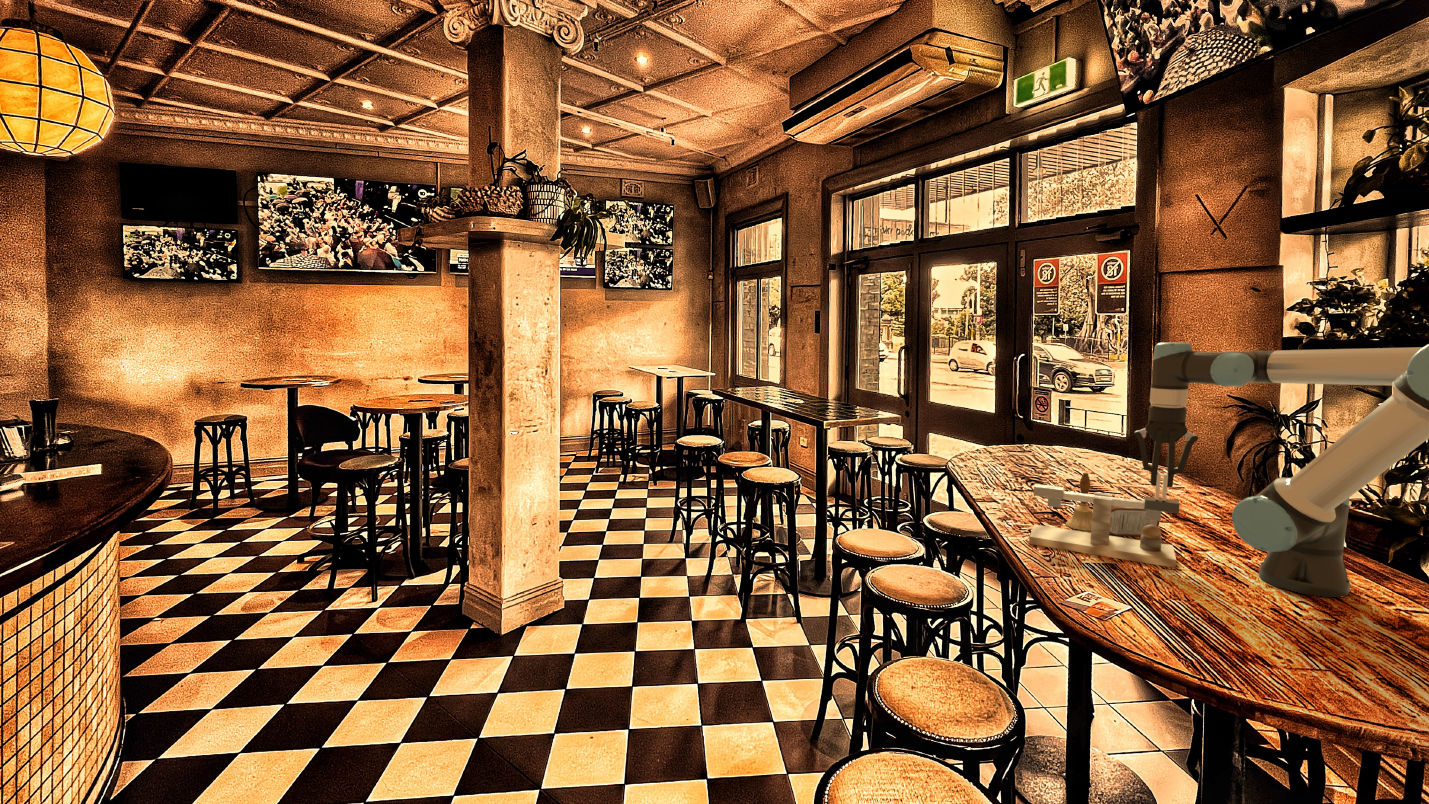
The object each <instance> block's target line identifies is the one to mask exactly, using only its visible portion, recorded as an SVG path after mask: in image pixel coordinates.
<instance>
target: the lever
mask: <svg viewBox="0 0 1429 804" xmlns="http://www.w3.org/2000/svg"><path fill="white" fill-rule="evenodd" d="M1033 496H1037V497H1042V498H1047V506H1048V507H1052V508H1061V507H1062V506H1061V505H1062V500H1066V501H1073V502H1080V501H1081V502H1087V503H1089V504H1093V500H1094V497H1101V498H1109V499H1112V505H1113V506H1121V507H1129V508H1137V509H1145V510H1146V519H1150V520H1158V521H1160V522H1161V518H1162V512H1163V513H1171V514H1179V513H1180V500H1179V499H1168V498H1166V501H1162V497H1161V498H1160V497H1159V500H1155V497H1152V496H1151V497H1150V496H1144V500H1139V499H1130V498H1122V497H1113V496H1112V497H1107V496H1099V495H1094V494H1089V493H1088V494H1082V493H1081V492H1071V491H1066V490H1065V486H1059V485H1058V486H1057V485H1050V484H1049V485H1048V484H1041V483H1040V484H1039V483H1035V484H1034V486H1033ZM1081 502H1080V503H1081Z"/></svg>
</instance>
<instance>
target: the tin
mask: <svg viewBox="0 0 1429 804" xmlns="http://www.w3.org/2000/svg"><path fill="white" fill-rule="evenodd" d="M1160 522H1161V520H1160V521H1158V520H1150V519H1146V510H1145V509H1137V508H1129V507H1121V506H1113V505H1112V506H1111V518H1110V531H1109V535H1111V536H1119V537H1121V536H1125V537H1141V535H1143V534H1142V529H1143V528H1144V527H1145V526H1146V525H1155V526H1157V527H1158V528H1159V526H1160Z"/></svg>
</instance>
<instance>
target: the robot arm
mask: <svg viewBox="0 0 1429 804" xmlns="http://www.w3.org/2000/svg"><path fill="white" fill-rule="evenodd" d="M1152 357H1153V358H1152V360H1151V361H1152V371H1151V384H1150V385H1151V386H1150V392H1149V394H1150V395H1149V403H1150V404H1151V405H1150V406H1149V407H1148V419H1147V423H1146V424H1145V427H1144V428H1142V429H1139V430H1138V429H1137V430H1135V431H1134V436H1135V437H1136V439H1137V441H1138V444H1139V450H1140V455H1141V457H1140V458H1141V463H1142V468H1143V470H1144V471H1147V472H1150V485H1151V486H1152V487H1155V488H1154V489H1155V490H1154V498H1155V500H1159V498H1160V491H1161V498H1162V501H1166V499H1167V491H1168V488H1171V489H1172V488H1173V485H1174V478H1175V477H1174V476H1175V475H1177V474H1183V473H1184V471H1185V467H1186V465H1187V462H1188V460H1189V456H1190V454H1191V451H1192V447H1193V445H1194V444H1195V443H1196V442H1198V440H1199V437H1198V435H1197V434H1195V433H1192V432H1190V431H1188V427H1187V425H1186V424H1187V423H1186V422H1187V421H1186V420H1187V410H1188V409H1187V407H1186V405H1188V398H1189V386H1190V384H1199V385H1200V384H1202V385H1212V386H1222V387H1227V388H1228V387H1243V386H1246V385H1247V384H1298V385H1299V384H1304V385H1306V384H1307V385H1309V384H1311V385H1345V386H1346V385H1347V386H1349V385H1352V386H1353V385H1355V386H1356V385H1358V386H1359V385H1360V386H1392V394H1391V395H1390V396H1389V397H1388V398H1387V399H1386V400H1384V401H1383V402H1382V403H1381V404H1380V405H1378V406H1377V407H1376V408H1375V409H1373V410H1372V411H1371V412H1370V413H1368V414H1367V415H1366V416H1365V417H1363V418H1362V419H1361V420H1360V421H1359V422H1357V424H1355V425H1353V427H1352V428H1350V429H1349V430H1347V432H1345V433H1344V434H1343V435H1341V437H1339V438H1338V439H1337V440H1336V441H1334V442H1333V443H1332V444H1330V445H1329V447H1327V448H1326V449H1324V450H1323V451H1322V452H1321V453H1320V454H1318V455H1317V456H1316V457H1315V458H1314V459H1312V460H1311V461H1310V462H1309V463H1307V464H1306V465H1305V466H1304V467H1302V468H1301V470H1299V471H1297V473H1295V474H1294V475H1293V476H1292V477H1278V478H1275V480H1273V481H1272V482H1271V483H1269V484H1268V485H1267V486H1266V487H1265V488H1264V489H1262V490H1261V491H1260V492H1259V493H1258V494H1256V495H1253V496H1249V497H1245V498H1244V499H1242V500H1240V501H1239V502H1238V503H1237V504H1235V506H1234V508H1233V510H1232V514H1231V520H1232V526H1233V528H1234V530H1235V532H1236V534H1237V535H1238V537H1239V538H1240V539H1241V540H1242V541H1243V542H1245V543H1246V544H1247V545H1248V546H1250V547H1252V548H1255V549H1257V550H1259V551H1263V552H1266V553H1267V554H1266V556H1265V557H1264V560H1263V561H1261V564H1259V571H1258V576H1259V578H1260V579H1261V580H1263V581H1264V582H1265V583H1267V584H1270V585H1271V586H1275V587H1278V588H1280V589H1283V588H1284V589H1283V590H1286V589H1287V591H1289V590H1291V591H1290V592H1293V591H1294V592H1295V593H1297V592H1298V593H1299V594H1304V595H1307V596H1312V595H1313V596H1314V597H1319V596H1322V598H1332V597H1337V598H1342V597H1341V596H1345V597H1347V596H1346V595H1348V594H1349V595H1350V593H1349V592H1351V591H1350V590H1351V581H1350V579H1349V578H1348V577H1349V576H1348V572H1347V568H1346V565H1345V562H1344V559H1343V557H1344V556H1343V555H1344V554H1343V553H1344V548H1345V541H1346V540H1345V539H1346V534H1347V533H1346V532H1347V526H1348V517H1349V510H1350V508H1351V505H1350V497H1352V496H1354V495H1355V494H1357V492H1358V491H1360V490H1361V489H1363V488H1364V487H1365V486H1367V485H1368V484H1369V483H1371V482H1372V481H1373V480H1374V479H1376V478H1377V477H1378V476H1380V475H1382V474H1383V473H1385V472H1386V470H1389V468H1391V467H1392V466H1394V465H1395V464H1396V463H1397V462H1400V461H1401V460H1402V459H1403V458H1404V457H1405V456H1407V455H1408V454H1410V453H1411V452H1412V451H1414V450H1416V448H1418V447H1419V446H1420V445H1422V444H1423V443H1424V442H1426V441H1427V440H1429V343H1428V344H1426V345H1425V346H1423V347H1417V346H1416V347H1382V348H1380V347H1377V348H1376V347H1375V348H1335V349H1332V348H1329V349H1290V350H1288V349H1286V350H1280V349H1279V350H1257V349H1256V350H1248V351H1218V352H1216V351H1195V350H1194V349H1193V345H1192V343H1190V342H1178V341H1177V342H1174V341H1173V342H1166V341H1165V342H1164V341H1163V342H1158V343H1156V345H1155V346H1154V351H1153V356H1152ZM1147 434H1148V435H1149V436H1150V438H1151V439H1152V440H1153V442H1154V447H1153V453H1152V459H1151V460H1152V461H1151V465H1150V464H1149V459H1148V453H1147V447H1146V441H1145V438H1146V437H1147ZM1184 436H1185V438H1184V440H1185V444H1184V446H1183V449H1182V452H1181V455H1180V458H1179V460H1178V463H1177V466H1176V467H1175V458H1176V457H1175V456H1176V455H1175V454H1176V443H1177V442H1179V441H1180V440H1181V439H1182V438H1183V437H1184ZM1164 443H1166V444H1167V472H1163V478H1161V477H1162V474H1161V472H1160V471H1159V465H1160V464H1159V463H1160V456H1161V455H1160V454H1161V449H1162V444H1164ZM1161 479H1162V490H1161V489H1160V488H1161ZM1298 593H1297V594H1298ZM1349 595H1348V596H1349Z"/></svg>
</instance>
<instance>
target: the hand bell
mask: <svg viewBox="0 0 1429 804" xmlns="http://www.w3.org/2000/svg"><path fill="white" fill-rule="evenodd" d="M1090 487H1091V479H1090V477H1089V473H1088V472H1083V473H1082V476H1081V477H1080V481H1079V489H1080V493H1082V494H1089V491H1090ZM1079 503H1080V505H1079V506H1078V505H1077V506H1075V507H1074V509H1073V514H1072V516H1071V518H1070V519H1069V520H1067V521H1066V522H1065V525H1066V526H1067V527H1068V528H1070V529H1072V530H1076V529H1077V530H1076V531H1082V530H1083V531H1082V532H1091V527H1092V513H1093V508H1092V509H1091V508H1090V507H1089V506H1088V502H1081V501H1079Z"/></svg>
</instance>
